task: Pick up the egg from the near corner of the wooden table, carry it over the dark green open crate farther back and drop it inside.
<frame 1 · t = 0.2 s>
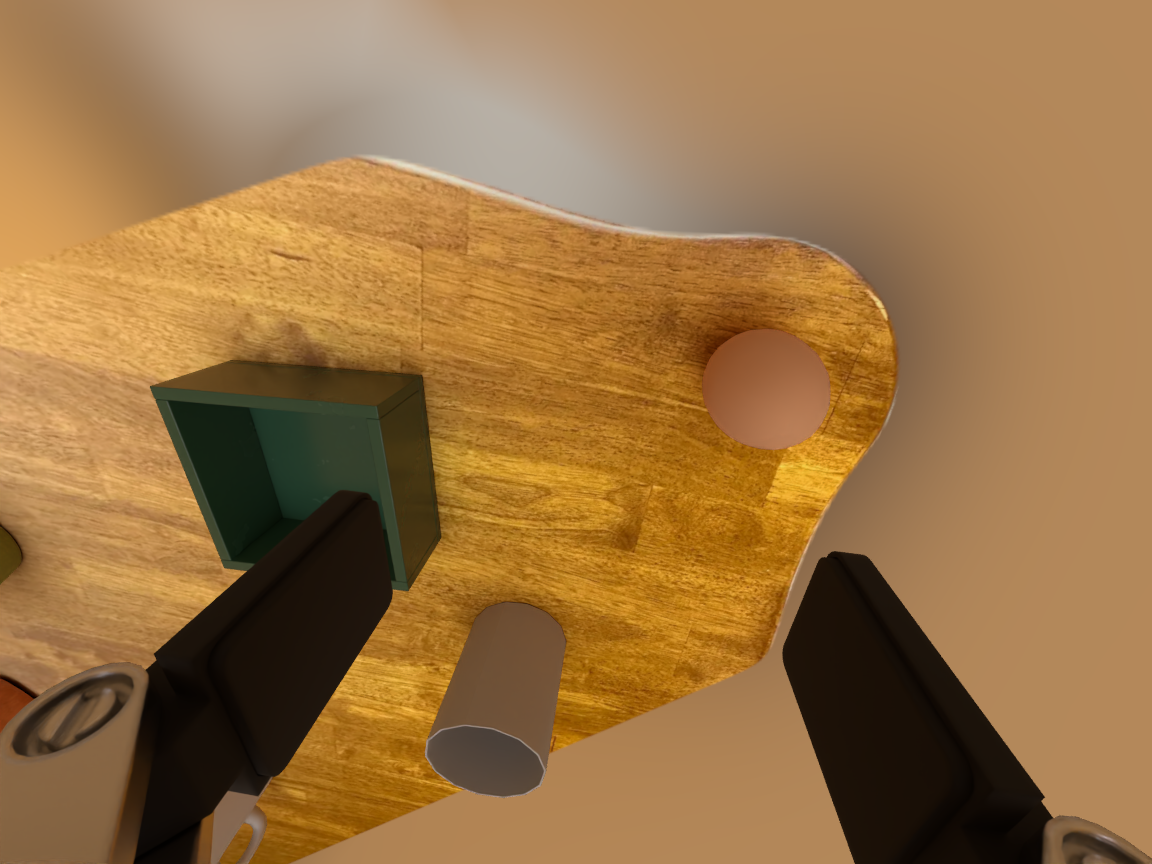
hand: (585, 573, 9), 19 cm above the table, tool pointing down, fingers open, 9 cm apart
egg: (742, 364, 25), on the table
cup: (519, 634, 38), on the table
mug: (254, 767, 54), on the table
dark green open crate: (344, 455, 31), on the table
bread: (69, 740, 57), on the table
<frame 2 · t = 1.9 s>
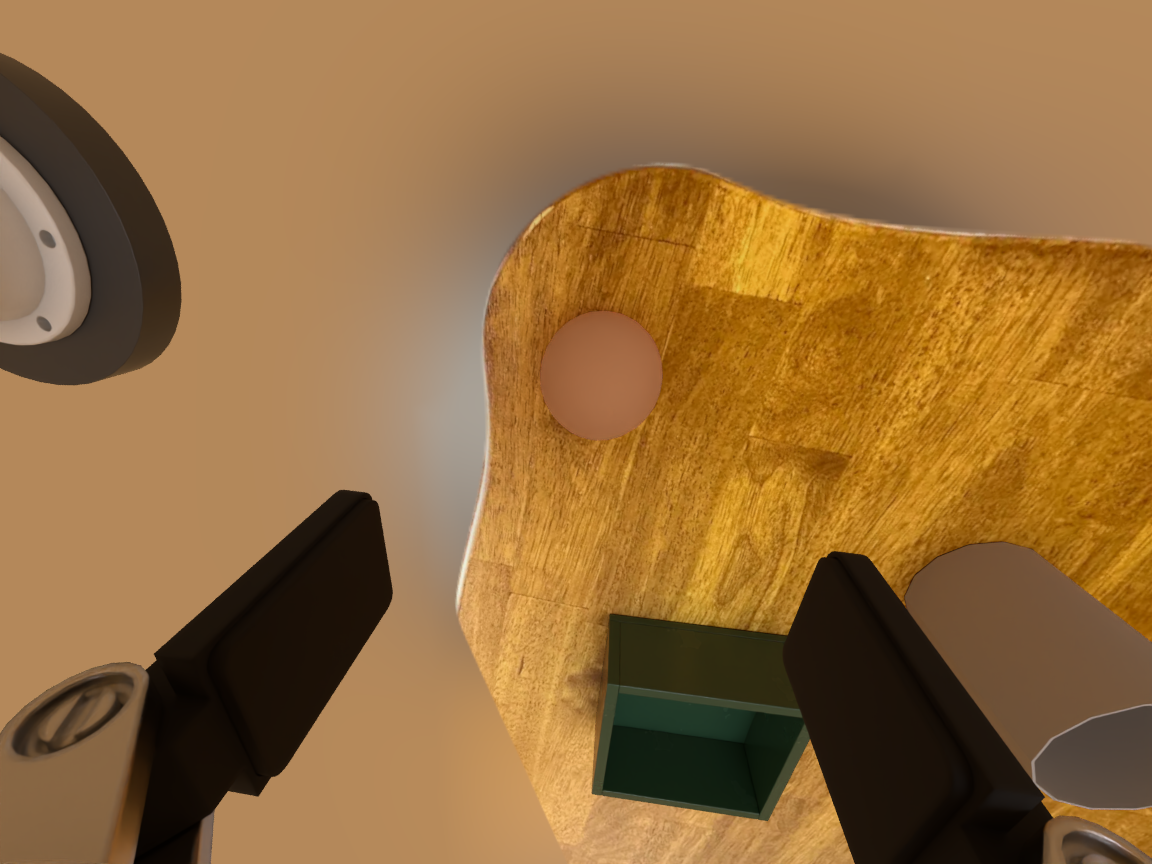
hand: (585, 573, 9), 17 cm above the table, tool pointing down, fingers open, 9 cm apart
egg: (604, 352, 24), on the table
cup: (972, 589, 28), on the table
dark green open crate: (684, 682, 35), on the table
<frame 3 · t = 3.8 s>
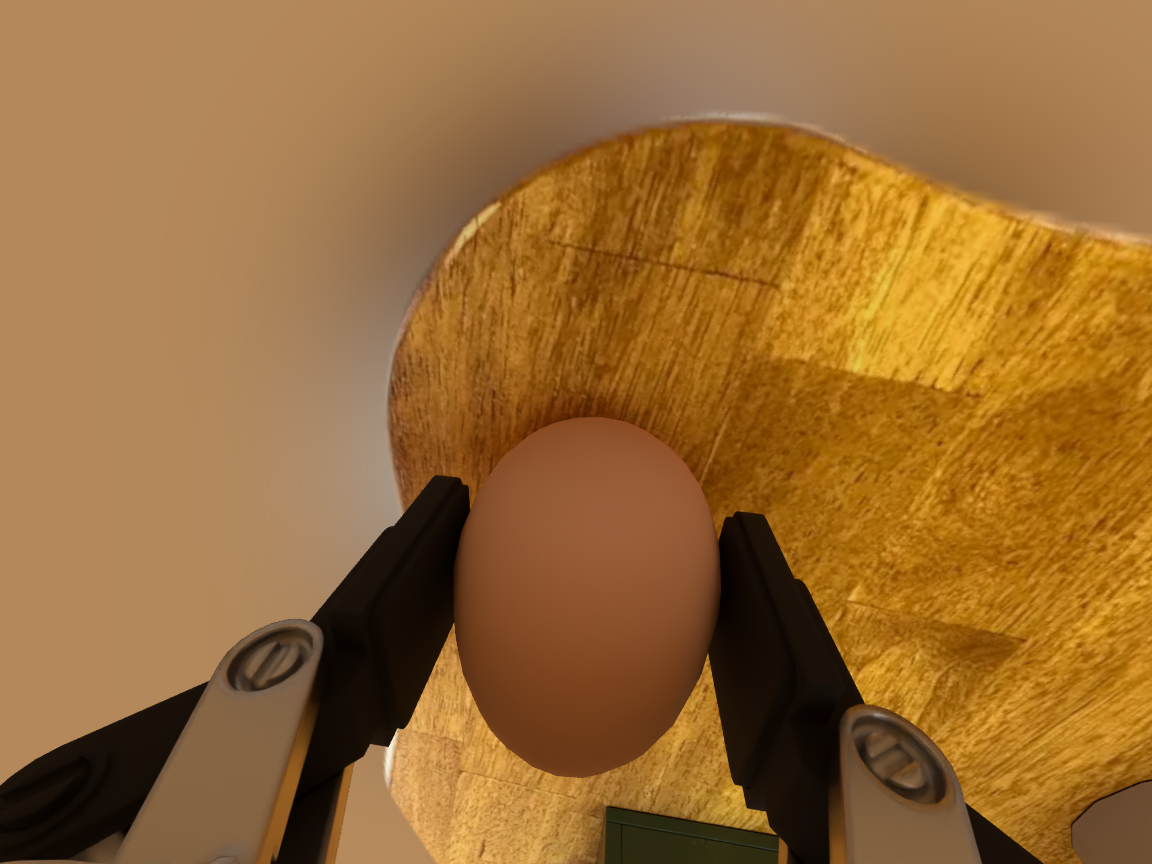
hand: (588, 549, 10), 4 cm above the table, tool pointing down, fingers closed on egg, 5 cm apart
egg: (599, 461, 14), on the table, touching gripper
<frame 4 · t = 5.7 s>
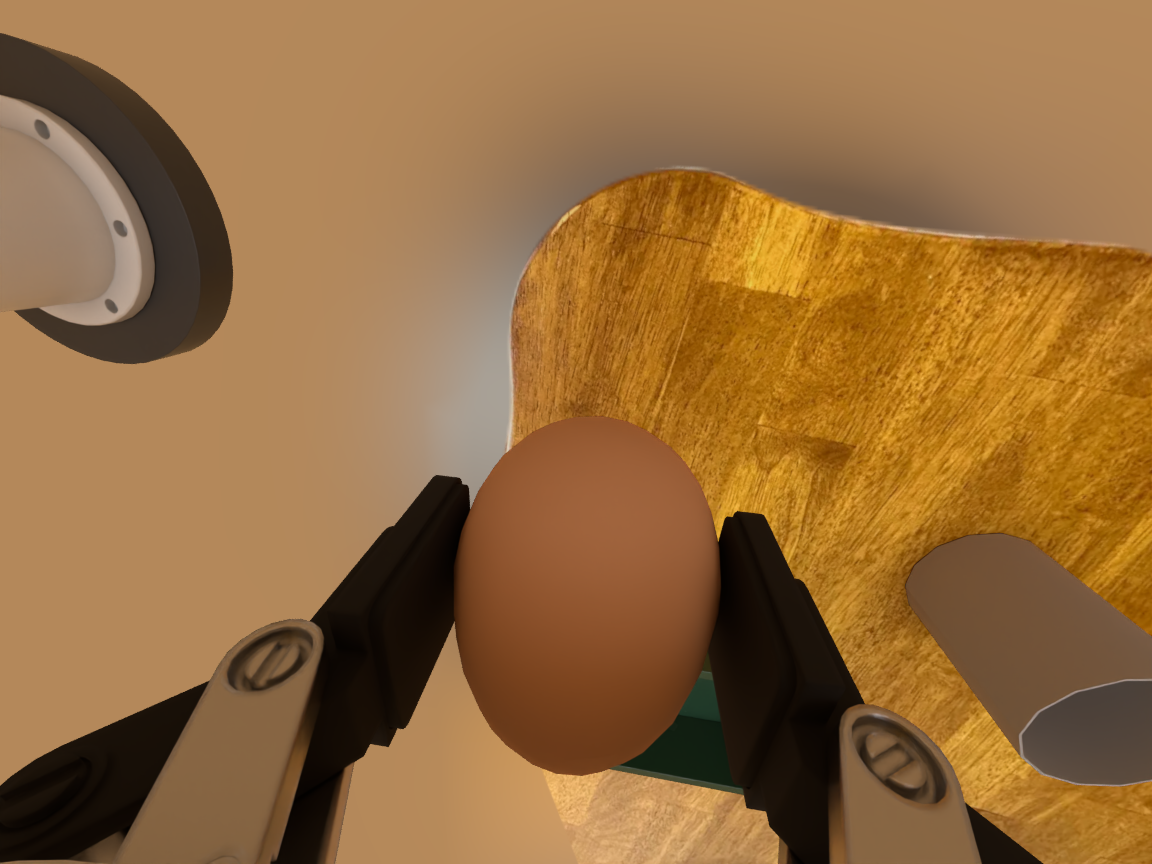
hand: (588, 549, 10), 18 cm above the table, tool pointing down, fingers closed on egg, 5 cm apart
egg: (599, 461, 14), point 14 cm above the table, touching gripper
cup: (971, 580, 29), on the table
dark green open crate: (689, 664, 36), on the table
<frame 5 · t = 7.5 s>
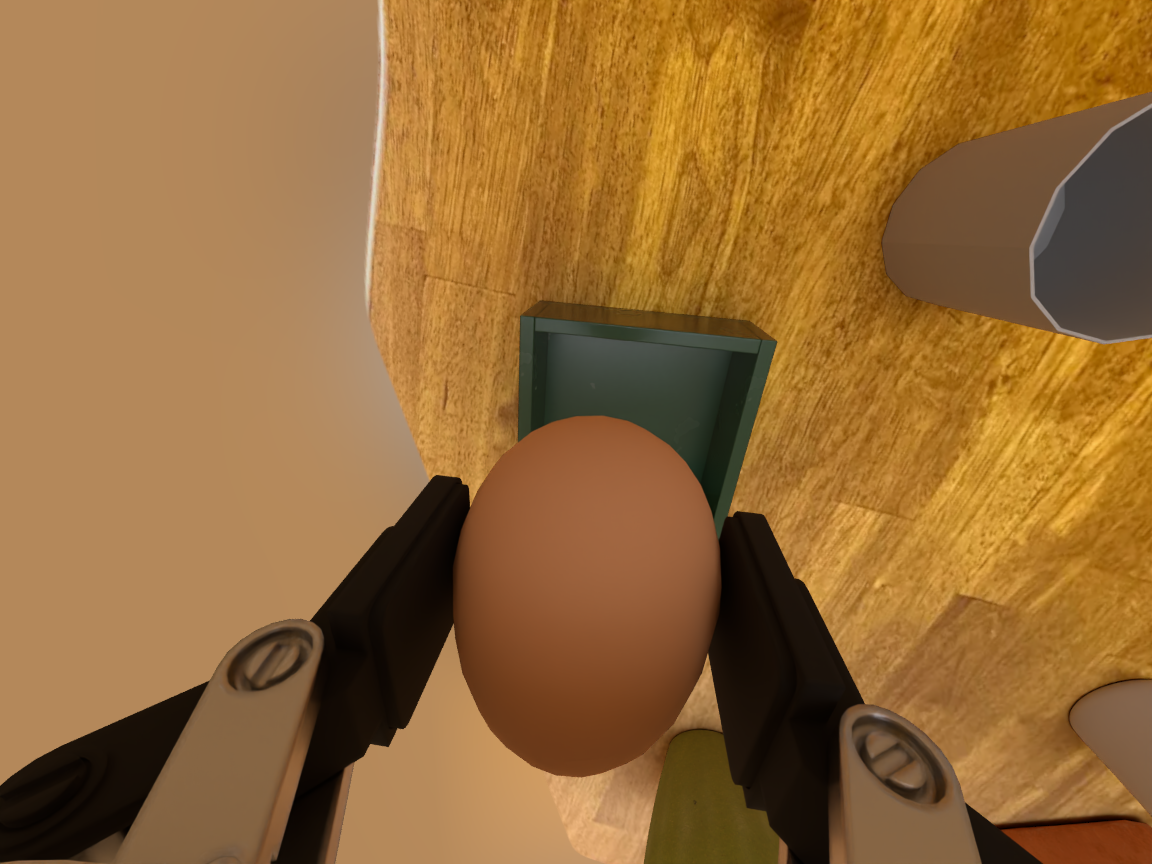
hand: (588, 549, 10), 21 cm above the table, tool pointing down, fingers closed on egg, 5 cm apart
egg: (599, 461, 14), point 17 cm above the table, touching gripper
cup: (963, 226, 24), on the table
mug: (1148, 703, 37), on the table
dark green open crate: (629, 407, 30), on the table
flower pot: (701, 747, 47), on the table
bread: (1001, 850, 48), on the table
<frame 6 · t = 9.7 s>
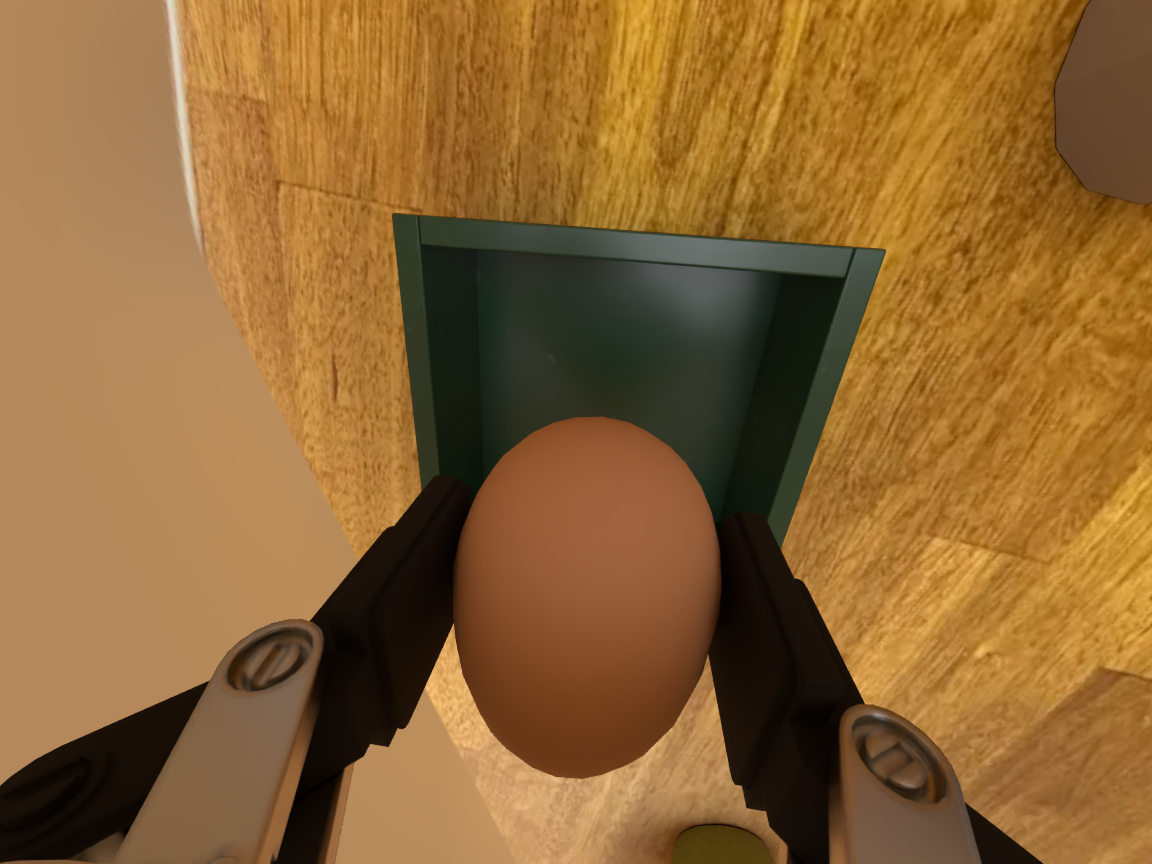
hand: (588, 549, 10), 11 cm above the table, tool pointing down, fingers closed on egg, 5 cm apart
egg: (599, 461, 14), point 7 cm above the table, touching gripper
dark green open crate: (611, 393, 20), on the table
flower pot: (717, 843, 36), on the table
when the fingers open (7 cm above the table, at t = 11.2 s): egg drops 1 cm, resting on dark green open crate.
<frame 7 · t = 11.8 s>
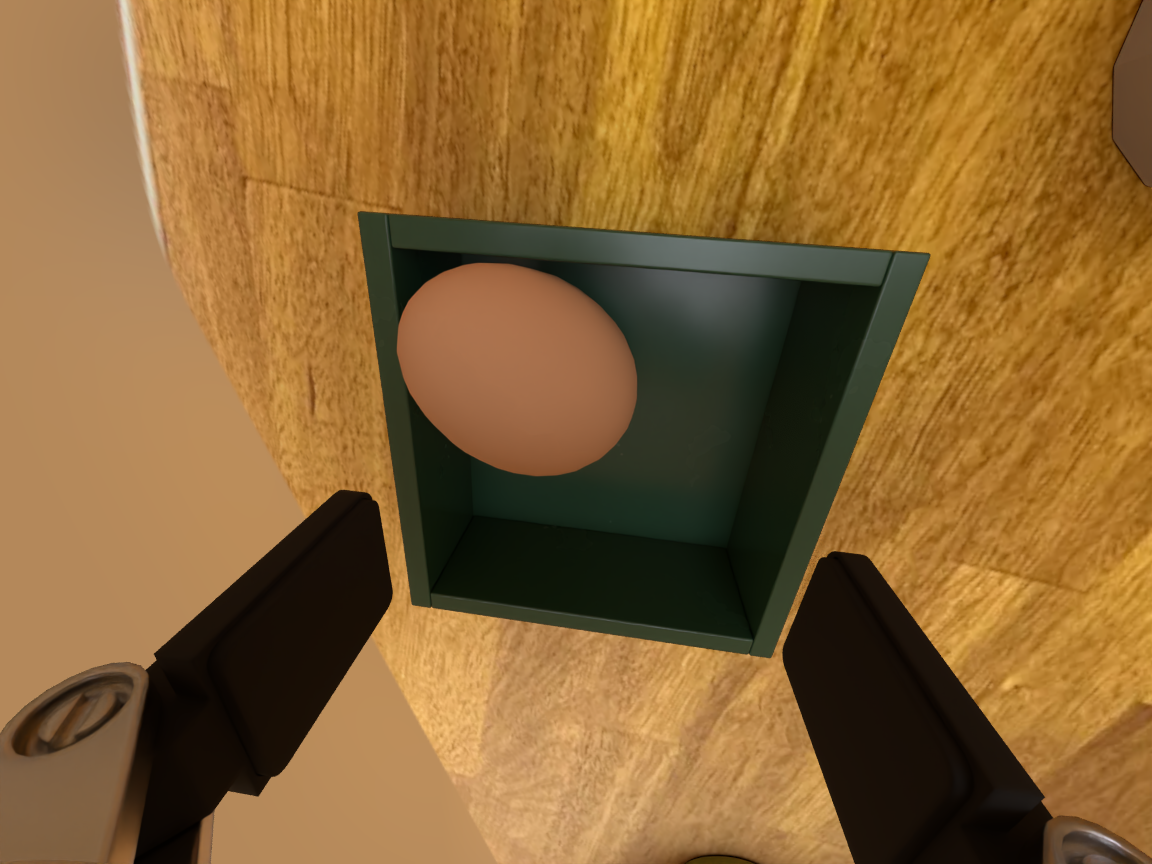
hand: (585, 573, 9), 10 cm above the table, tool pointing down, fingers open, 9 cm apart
egg: (597, 414, 16), point 2 cm above the table, touching dark green open crate
dark green open crate: (610, 408, 18), on the table
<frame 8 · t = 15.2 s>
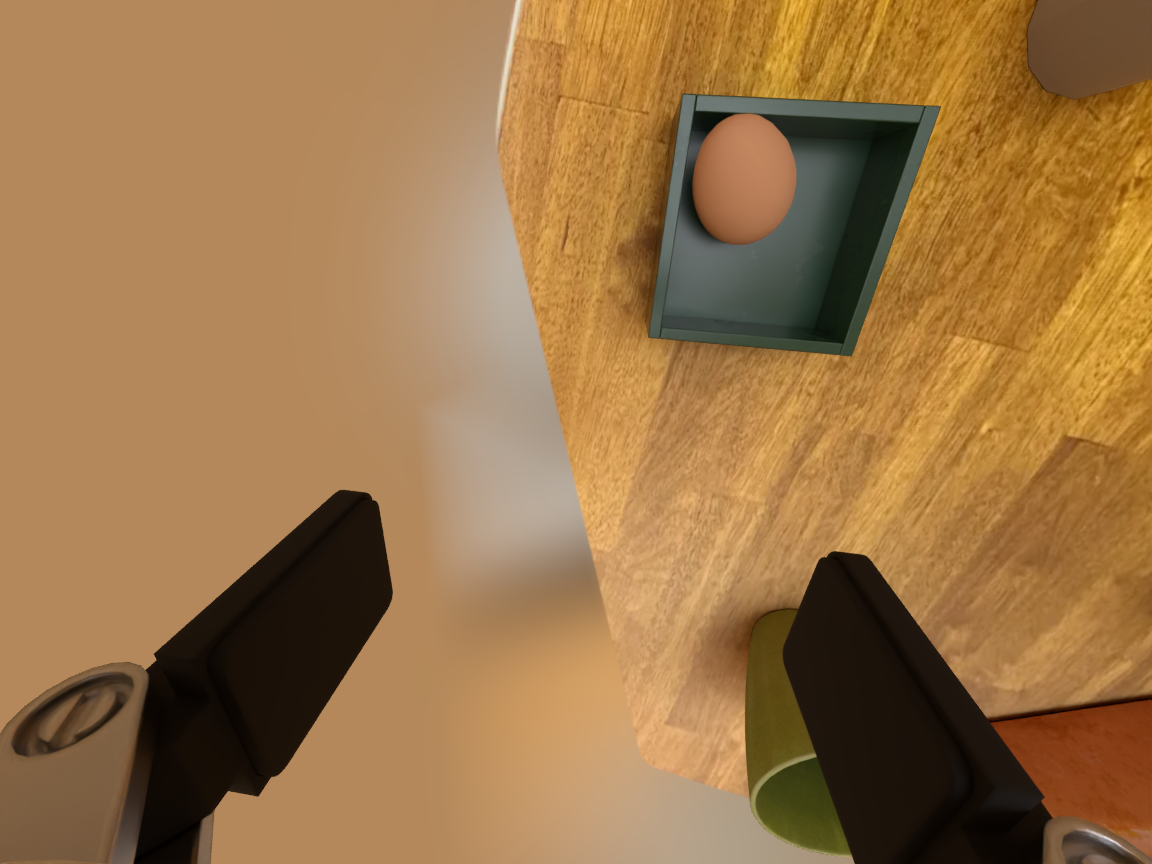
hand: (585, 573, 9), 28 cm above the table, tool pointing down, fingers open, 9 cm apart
egg: (752, 229, 29), point 2 cm above the table, touching dark green open crate
cup: (1111, 8, 24), on the table
dark green open crate: (751, 236, 31), on the table
flower pot: (784, 631, 47), on the table
bread: (1081, 736, 49), on the table
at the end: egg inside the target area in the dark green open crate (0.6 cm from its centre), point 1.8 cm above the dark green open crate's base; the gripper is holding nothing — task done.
